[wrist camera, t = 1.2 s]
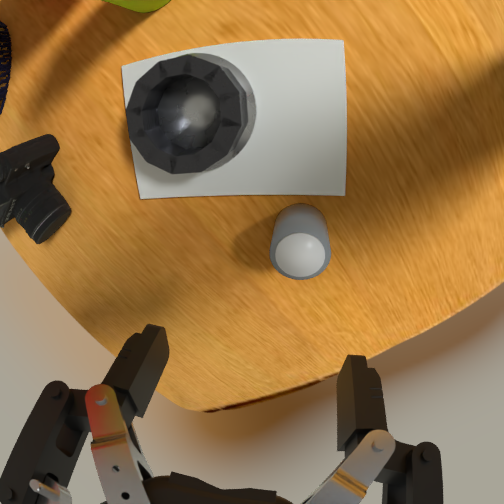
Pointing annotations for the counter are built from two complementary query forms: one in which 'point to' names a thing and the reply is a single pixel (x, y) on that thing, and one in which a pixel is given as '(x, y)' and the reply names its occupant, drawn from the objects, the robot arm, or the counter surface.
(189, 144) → the black faceted bowl
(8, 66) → the decorative bowl
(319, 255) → the cap
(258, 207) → the counter surface
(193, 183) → the mat
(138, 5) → the soap dispenser
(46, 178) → the camera
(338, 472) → the robot arm
